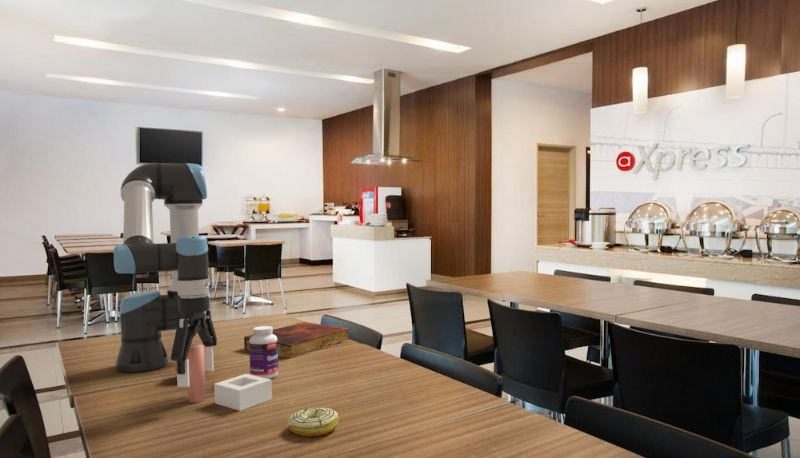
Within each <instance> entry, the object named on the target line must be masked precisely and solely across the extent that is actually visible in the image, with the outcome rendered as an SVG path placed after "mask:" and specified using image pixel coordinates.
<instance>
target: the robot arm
mask: <svg viewBox="0 0 800 458" xmlns="http://www.w3.org/2000/svg"><path fill="white" fill-rule="evenodd" d="M120 198H121V200H122V202H123V236H122V237H123V239H122V244H119V245H115V246H114V248H113V266H114V271H115V272H116V273H117V274H130V275H132V274H133V275H134V274H144V273H157V272H161V273H162V272H171V284H170V285H169V286H168V287H167V289H166V293H167V294H161V291H159V290H148V291H143V292H138V293H134V294H130V295H127V296H125V297H123V298H122V299H121V300H120V303H119V304H120V305H119V313H118V314H119V315H120V342H121V344H120V348H119V350H118V354H117V357H116V360H115V370H116V371H117V372H120V373H121V372H122V373H139V372H146V371H153V370H156V369H159V368H160V369H161V368H162V367H165V366H166V365H168V364H169V355H168V352H167V350H166V348H165V345H164V343H163V340H162V332H167V331H175V335H174V339H173V345H172V349H171V355H170V360H171V361H172V362H176V363H177V372H176V381H177V383H176V384H177V388H188V387H189V360H186V359H187V356H188V352H189V349H190V346H191V345H192V344H193V343H192V342H193V340H194V337H195V336H197V335H198V337H199V338H200V341H201V344H202V345H204V371H205V372H214V369H215V367H214V365H215V364H214V346H215V347H216V346H217V344H218V343H217V341H218V337H217V335H216V331H215V328H214V324H213V320H212V314H211V312H212V311H211V310H210V309H211V307H210V306H211V292H210V286H211V282H209V247H208V238H207V237H206V236H205V235H199V209H200V208H201V207H202V206H203V200H206V199H207V198H208V192H207V183H206V178H205V173H204V170H203V167H202V166H201V165H200V164H197V163H187V162H182V163H181V162H180V163H179V162H173V163H172V162H148V163H144V164H142V165H139V166H137V167H136V168H134V169H133V170H131V171H130V172H129V173H128V174H127V176H126V177H125V178H124V179H123V181H122V183H121V187H120ZM155 200H163V204H164V205H163V206H165V207H166V208H167V209H168V210H169V228H170V229H169V231H170V242H169V243H154V242H155V241H154V220H153V219H154V217H153V215H154V214H153V202H154V201H155Z"/></svg>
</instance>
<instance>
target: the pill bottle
mask: <svg viewBox="0 0 800 458" xmlns="http://www.w3.org/2000/svg"><path fill="white" fill-rule="evenodd" d="M252 329H253V335H254V336H252V337H251V338H250V340H249V350H248V351H249V352H248V353H249V374H250V375H254V376H258V377H262V378H267V379H273V378H275V377H277V376H278V374H279V356H278V344H277V337H276V336H275V335H274V334H272V332H273V330H274V328H273V326H271V325H270V326H269V325H261V326H255V327H252Z"/></svg>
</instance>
